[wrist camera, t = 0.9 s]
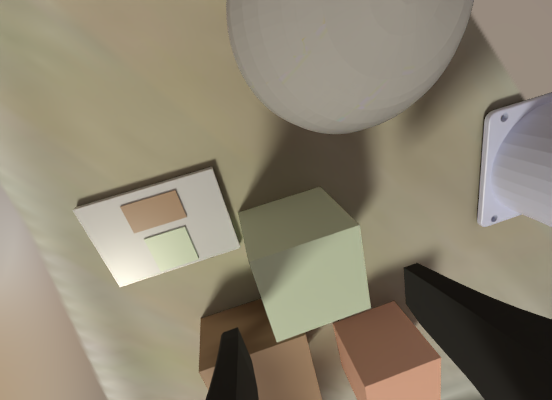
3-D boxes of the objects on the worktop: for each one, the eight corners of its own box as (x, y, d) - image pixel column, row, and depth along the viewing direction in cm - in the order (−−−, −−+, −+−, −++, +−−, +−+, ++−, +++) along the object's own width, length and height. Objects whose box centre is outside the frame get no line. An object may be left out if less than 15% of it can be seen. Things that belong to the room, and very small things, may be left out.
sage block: (319, 186, 17) (359, 225, 13) (332, 253, 19) (371, 308, 15) (237, 211, 17) (248, 262, 12) (260, 278, 19) (276, 342, 14)
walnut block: (288, 287, 20) (305, 334, 16) (303, 346, 22) (321, 399, 19) (200, 316, 19) (198, 372, 15) (227, 373, 22) (230, 433, 18)
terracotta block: (393, 300, 22) (440, 357, 18) (397, 343, 24) (440, 404, 20) (332, 322, 22) (364, 387, 17) (341, 364, 24) (372, 432, 19)
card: (212, 166, 15) (212, 169, 15) (239, 244, 17) (240, 248, 17) (75, 207, 14) (71, 211, 14) (122, 282, 17) (119, 288, 16)
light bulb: (329, -29, 13) (610, -274, 4) (333, 99, 15) (517, 132, 6) (206, -19, 12) (199, -300, 3) (229, 114, 14) (265, 178, 5)
